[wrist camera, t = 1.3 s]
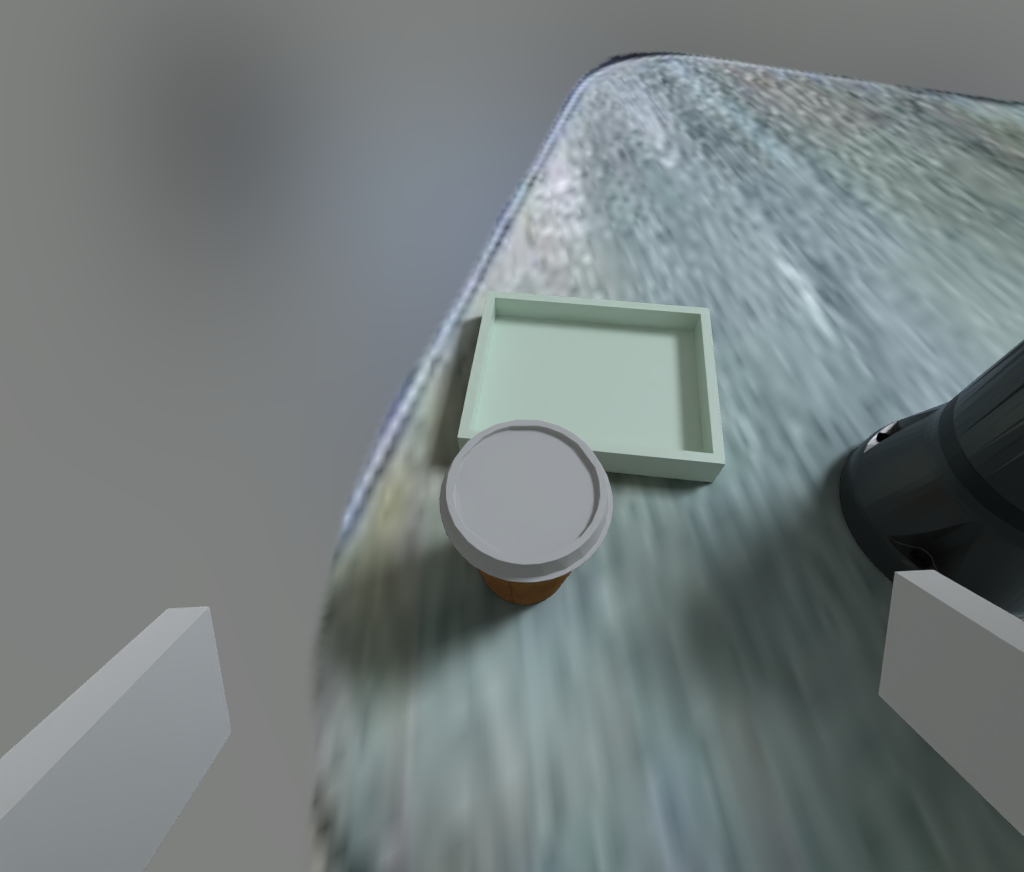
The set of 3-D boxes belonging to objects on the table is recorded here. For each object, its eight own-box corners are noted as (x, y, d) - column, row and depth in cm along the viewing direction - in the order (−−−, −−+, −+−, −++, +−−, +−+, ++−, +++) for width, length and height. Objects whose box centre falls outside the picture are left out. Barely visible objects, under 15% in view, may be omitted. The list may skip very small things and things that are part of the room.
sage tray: (699, 331, 50) (709, 308, 47) (712, 482, 42) (725, 463, 39) (489, 314, 51) (487, 290, 49) (460, 456, 43) (457, 437, 40)
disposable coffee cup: (515, 478, 42) (515, 385, 32) (615, 553, 39) (651, 476, 28) (430, 568, 38) (398, 496, 28) (533, 660, 35) (540, 615, 25)
